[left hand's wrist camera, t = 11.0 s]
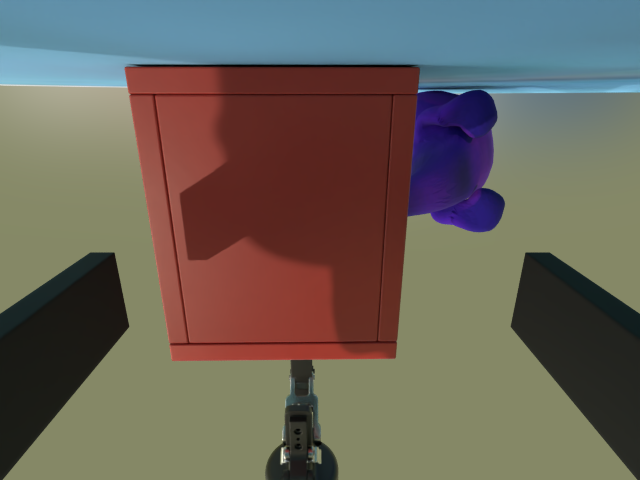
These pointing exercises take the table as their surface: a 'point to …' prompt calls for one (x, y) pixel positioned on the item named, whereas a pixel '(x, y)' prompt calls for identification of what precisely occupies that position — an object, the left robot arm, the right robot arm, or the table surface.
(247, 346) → the lid
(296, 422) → the right robot arm
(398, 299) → the chest
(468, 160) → the toy
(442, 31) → the table surface
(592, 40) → the table surface
